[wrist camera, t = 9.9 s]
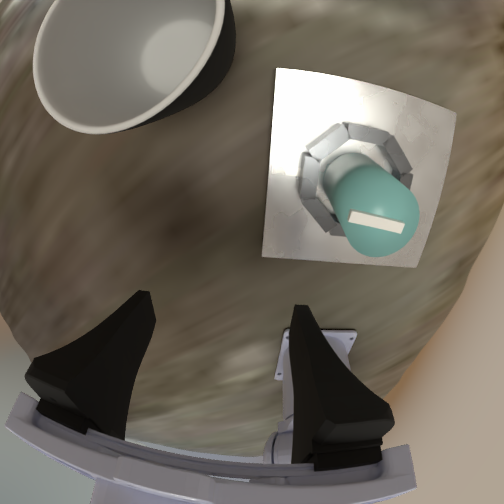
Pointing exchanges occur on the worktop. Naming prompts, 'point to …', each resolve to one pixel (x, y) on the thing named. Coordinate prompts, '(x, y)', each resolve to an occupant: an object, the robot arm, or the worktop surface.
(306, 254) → the panel
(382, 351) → the worktop surface
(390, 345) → the worktop surface
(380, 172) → the knob
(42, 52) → the mug
